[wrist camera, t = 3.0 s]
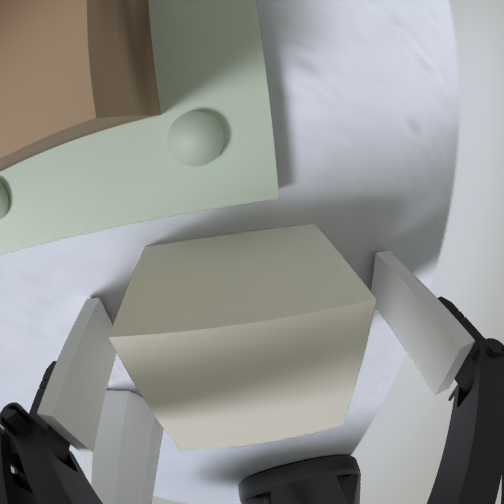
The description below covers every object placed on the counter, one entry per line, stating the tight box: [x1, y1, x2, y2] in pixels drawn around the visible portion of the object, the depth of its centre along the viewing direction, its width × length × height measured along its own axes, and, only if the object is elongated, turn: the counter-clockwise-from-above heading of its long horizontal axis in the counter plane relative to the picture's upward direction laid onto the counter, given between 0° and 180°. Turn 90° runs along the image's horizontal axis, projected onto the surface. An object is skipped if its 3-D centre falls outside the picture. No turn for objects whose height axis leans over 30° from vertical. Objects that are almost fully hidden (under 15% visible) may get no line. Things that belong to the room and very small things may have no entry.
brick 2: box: [109, 224, 376, 450], centre depth 11 cm, size 7×7×6 cm
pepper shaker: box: [85, 390, 164, 504], centre depth 11 cm, size 5×5×11 cm
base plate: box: [0, 0, 279, 256], centre depth 7 cm, size 14×14×1 cm
